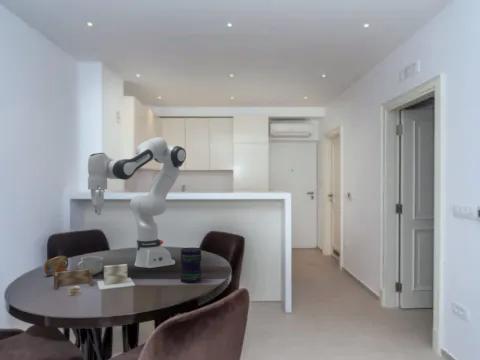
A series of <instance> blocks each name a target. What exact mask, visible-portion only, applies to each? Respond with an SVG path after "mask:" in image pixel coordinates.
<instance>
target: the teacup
mask: <svg viewBox="0 0 480 360" xmlns="http://www.w3.org/2000/svg"><path fill="white" fill-rule="evenodd" d="M103 268H104V257H102V256H98V255H97V256H95V255H91V256H84V257H81V258H80V261H79V262H78V263H77V269H78V270H86V269H92V276H94V275H98V274H99V273H100V272H102V270H103Z"/></svg>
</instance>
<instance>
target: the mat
mask: <svg viewBox="0 0 480 360" xmlns="http://www.w3.org/2000/svg"><path fill="white" fill-rule="evenodd" d="M96 284H97V287H98V289H99V291H105V290H111V289H120V288H127V287H135V286H136V284H135V282H134V281H133V279H132V278H131V277H127V282H126V283H117V284H108V285H104V279H103V280H97V281H96Z"/></svg>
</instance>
